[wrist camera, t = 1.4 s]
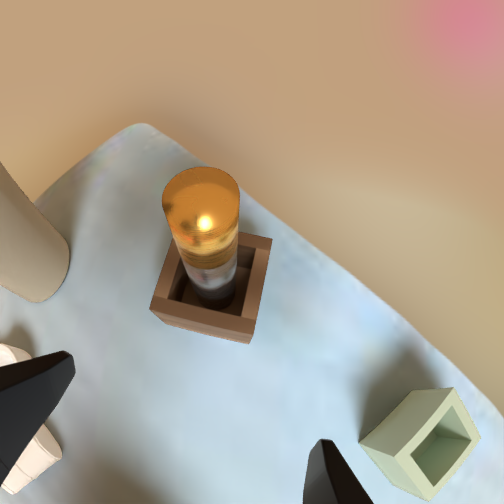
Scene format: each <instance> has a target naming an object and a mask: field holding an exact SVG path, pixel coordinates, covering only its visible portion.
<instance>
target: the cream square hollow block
mask: <svg viewBox="0 0 504 504" xmlns="http://www.w3.org/2000/svg"><path fill="white" fill-rule="evenodd" d="M480 439H481V436H480V434H479V432H478V430H477V428H476V426H475V424H474V422H473V420H472V419H471V417H470V415H469V413H468V411H467V409H466V407H465V406H464V404H463V402H462V400H461V399H460V397H459V395H458V393H457V392H456V390H455V388H454V387H450V388H439V389H425V390H412V391H411V392H410V393H409V394H408V395H407V396H406V397H405V399H404V400H403V401H402V402H401V403H400V404H399V405H398V406H397V407H396V408H395V409H394V410H393V411H392V412H391V413H390V414H389V415H388V416H387V417H386V418H385V419H384V420H383V421H382V422H381V423H380V424H379V425H378V426H377V427H376V428H375V429H374V430H372V431H371V432H370V433H369V434H368V435H367V436H366V437H365V438H364V439H362V440H361V441H360V442H359V445H360V446H361V447H362V448H363V450H364V451H365V452H366V453H367V454H368V456H369V457H370V458H371V459H372V461H373V462H374V463H375V464H376V466H377V467H378V468H379V469H380V470H381V472H382V473H383V474H384V475H385V477H386V478H387V479H388V480H389V481H390V483H391V484H392V485H393V486H395V487H397V488H399V489H401V490H404V491H406V492H408V493H410V494H412V495H414V496H416V497H419V498H421V499H423V500H425V501H428V502H429V501H430V500H431V499H432V498H433V497H434V496H435V495H436V494H437V493H438V492H439V490H440V489H441V488H442V487H443V486H444V485H445V484H446V483H447V482H448V480H449V479H450V478H451V477H452V476H453V475H454V473H455V472H456V471H457V470H458V468H459V467H460V466H461V465H462V463H463V462H464V461H465V460H466V458H467V457H468V456H469V454H470V453H471V451H472V450H473V449H474V447H475V446H476V444H477V443H478V442H479V440H480Z"/></svg>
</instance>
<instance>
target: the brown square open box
mask: <svg viewBox="0 0 504 504" xmlns="http://www.w3.org/2000/svg"><path fill="white" fill-rule="evenodd" d="M271 244H272V239H271V238H266V237H261V236H257V235H252V234H247V233H242V232H238V245H237V269H236V293H235V298H234V300H233V301H232V303H231V304H230V305H229V306H228V307H226V308H224V309H221V310H210V309H207V308H205V307H204V306H203V305H202V304H201V303H200V302H199V301H198V299H197V296H196V294H195V291H194V289H193V286H192V284H191V282H190V279H189V277H188V274H187V272H186V269H185V266H184V264H183V261H182V259H181V256H180V254H179V251H178V248H177V246H176V243H175V240H174V238H173V239H172V242H171V245H170V247H169V250H168V253H167V256H166V259H165V262H164V265H163V267H162V270H161V273H160V276H159V279H158V282H157V285H156V289H155V292H154V295H153V298H152V301H151V304H150V308H149V309H150V310H151V311H152V312H153V313H154V314H155V315H156V316H157V317H159V318H160V319H161V320H162V321H163V322H164V323H165V324H168V325H172V326H175V327H179V328H183V329H186V330H190V331H194V332H198V333H202V334H206V335H210V336H214V337H219V338H223V339H227V340H232V341H236V342H241V343H245V344H249V343H250V341H251V339H252V337H253V334H254V329H255V324H256V320H257V315H258V310H259V305H260V300H261V295H262V290H263V285H264V280H265V275H266V270H267V265H268V260H269V255H270V249H271Z"/></svg>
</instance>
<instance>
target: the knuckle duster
mask: <svg viewBox="0 0 504 504" xmlns="http://www.w3.org/2000/svg"><path fill="white" fill-rule="evenodd" d="M29 359H32V357H31V356H30V355H29V354H28V353H27V352H26V351H24V350H22V349H19V348H16V347H13V346H9V345H6V344H2V343H0V367H1V366H5V365H9V364H13V362H14V363H17V362H21V361H25V360H29ZM60 459H62V451H61V449H60V446H59V444H58V443H57V441H56V440H55V439H54V437H53V436H52V434H51V433H50V431H49V430H48V428H47V427H46V426H45V425H44V424H42V426H41V427H40V429H39V430H38V431H37V433H36V434H35V436H34V437H33V438H32V440H31V441H30V443H29V444H28V446H27V447H26V448H25V450H24V451H23V453H22V454H21V456H20V457H19V459H18V460H17V462H16V463H15V465H14V466H13V468H12V469H11V471H10V473H9V474H8V476H7V477H6V479H5V480H4V482H3V484H2V485H1V486H2V488H4V489H5V490H6V491H7V492H8V493H10V494H15V493H18V492H19V491H20V490H21V489H22V488H23V487H24V486H26V485H27V484H28V483H30V482H31V481H32V480H34V479H36V478H38V476H39V475H40V474H41V473H42V472H44V471H45V470H46V469H47V468H49V467H50V466H51V465H52V464H54V463H55V462H56V461H59V460H60Z"/></svg>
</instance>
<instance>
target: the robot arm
mask: <svg viewBox="0 0 504 504" xmlns="http://www.w3.org/2000/svg"><path fill="white" fill-rule="evenodd" d="M74 375H75V365H74V359H73V356H72V355H71V354H69V353H68V352H66V351H59V352H55V353H51V354H48V355H44V356H40V357H36V358H33V359H29V360H25V361H21V362H17V363H13V364H9V365H5V366H1V367H0V487H1V485H2V484H3V482H4V480H5V479H6V477H7V476H8V474H9V473H10V471H11V469H12V468H13V466H14V465H15V463H16V462H17V460H18V459H19V457H20V456H21V454H22V453H23V451H24V450H25V448H26V447H27V446H28V444H29V443H30V441H31V440H32V438H33V437H34V436H35V434H36V433H37V431H38V430H39V429H40V427H41V426H42V424H43V423H44V422H45V420H46V419H47V418H48V416H49V415H50V414H51V412H52V411H53V410H54V408H55V407H56V406H57V404H58V403H59V401H60V399H61V398H62V396H63V394H64V392H65V391H66V389H67V387H68V386H69V384H70V382H71V381H72V379H73V377H74ZM303 504H374V503H373V502H372V500H371V499H370V497H369V496H368V494H367V493H366V491H365V490H364V488H363V487H362V485H361V484H360V482H359V481H358V479H357V478H356V476H355V475H354V473H353V472H352V470H351V469H350V467H349V466H348V464H347V462H346V461H345V459H344V458H343V456H342V455H341V453H340V452H339V450H338V448H337V447H336V445H335V444H334V442H333V441H332V440H329V439H320V440H319V441H318V442H317V443H316V445H315V446H314V447H313V449H312V450H311V452H310V454H309V459H308V466H307V472H306V478H305V484H304V491H303Z"/></svg>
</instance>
